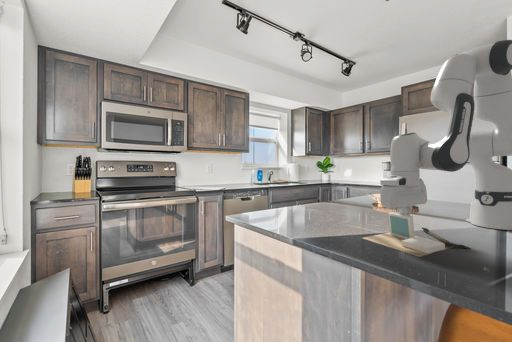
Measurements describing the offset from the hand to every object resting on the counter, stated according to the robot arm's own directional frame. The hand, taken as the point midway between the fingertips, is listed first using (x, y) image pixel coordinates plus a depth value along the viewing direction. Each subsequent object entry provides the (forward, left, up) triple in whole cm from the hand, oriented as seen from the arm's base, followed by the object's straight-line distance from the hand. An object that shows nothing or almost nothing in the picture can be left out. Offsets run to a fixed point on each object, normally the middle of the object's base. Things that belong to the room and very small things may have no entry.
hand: (404, 218), depth 87 cm
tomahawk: (-8, +7, -7) cm, 13 cm away
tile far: (+1, 0, -6) cm, 6 cm away
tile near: (+2, +10, -6) cm, 12 cm away
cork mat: (+5, +4, -7) cm, 10 cm away
